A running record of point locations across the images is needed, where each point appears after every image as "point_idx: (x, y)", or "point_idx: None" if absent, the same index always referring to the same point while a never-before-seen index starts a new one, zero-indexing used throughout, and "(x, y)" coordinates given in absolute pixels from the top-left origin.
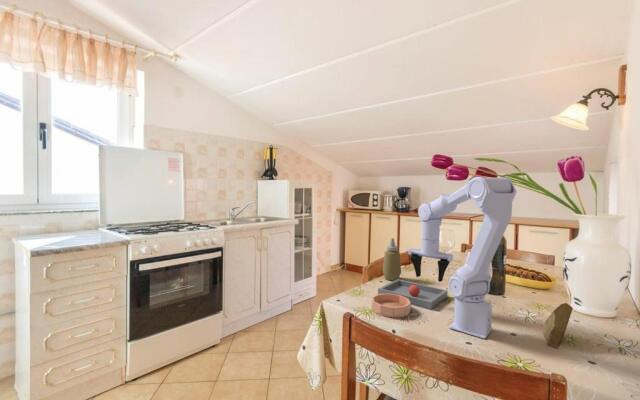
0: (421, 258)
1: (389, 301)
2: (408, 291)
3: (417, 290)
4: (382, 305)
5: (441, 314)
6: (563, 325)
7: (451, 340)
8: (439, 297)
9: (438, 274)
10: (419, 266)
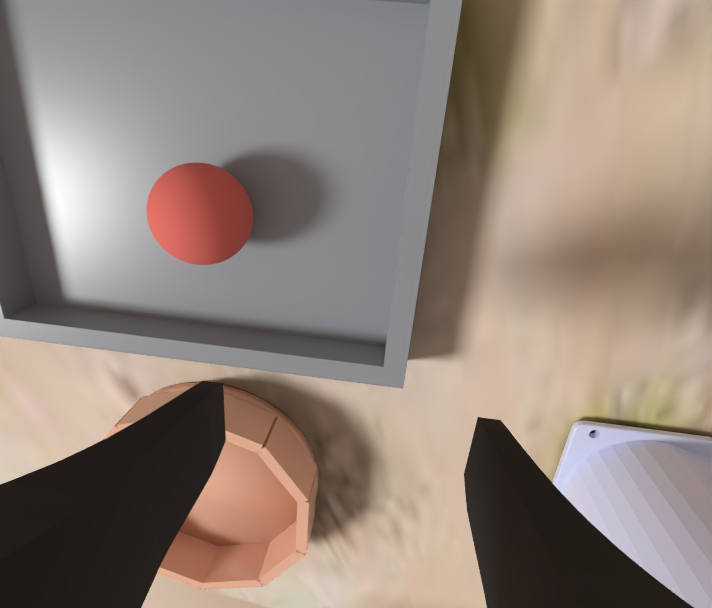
0: (43, 561)
1: None
2: (134, 121)
3: (237, 246)
4: (207, 585)
5: (475, 390)
6: None
7: None
8: (428, 218)
9: (480, 569)
10: (151, 494)
